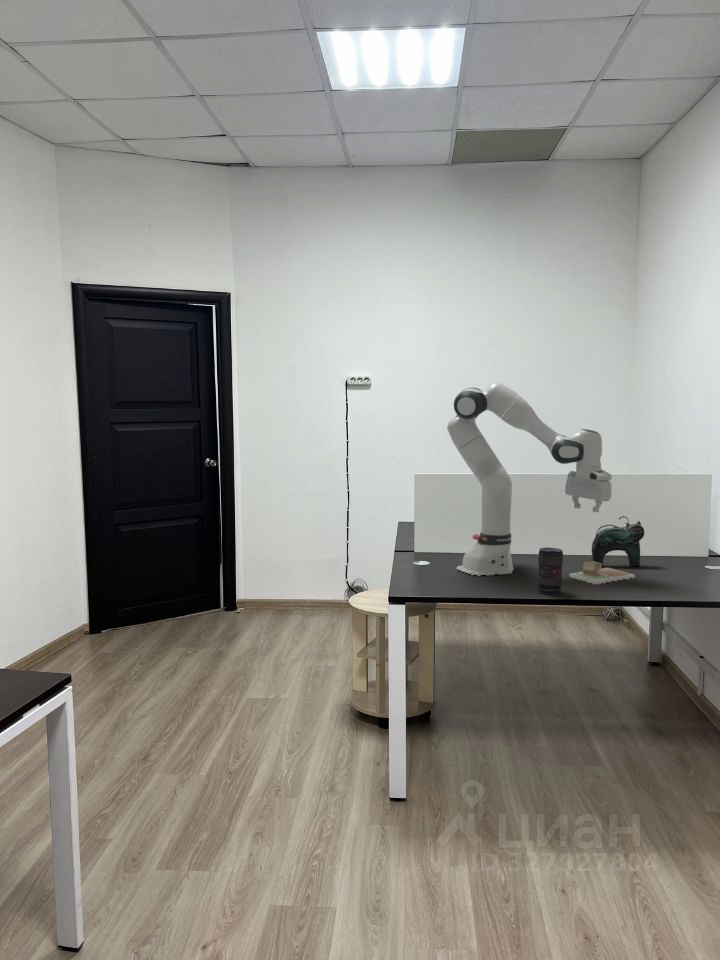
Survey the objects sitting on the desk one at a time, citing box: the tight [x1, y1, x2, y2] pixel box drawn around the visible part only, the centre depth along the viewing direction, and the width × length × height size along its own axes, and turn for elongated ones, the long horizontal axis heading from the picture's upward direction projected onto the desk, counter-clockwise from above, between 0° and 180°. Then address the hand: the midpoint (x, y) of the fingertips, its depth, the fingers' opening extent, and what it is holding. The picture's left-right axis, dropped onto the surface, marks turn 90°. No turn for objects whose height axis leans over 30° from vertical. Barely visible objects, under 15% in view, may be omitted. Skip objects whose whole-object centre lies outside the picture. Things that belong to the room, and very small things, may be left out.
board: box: [568, 567, 636, 586], centre depth 270 cm, size 20×13×2 cm, turn 118°
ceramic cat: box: [591, 515, 645, 567], centre depth 286 cm, size 20×6×20 cm, turn 89°
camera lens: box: [537, 547, 564, 595], centre depth 249 cm, size 8×8×15 cm
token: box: [582, 560, 603, 577], centre depth 267 cm, size 4×4×4 cm
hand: (586, 510), depth 271 cm, fingers open, 8 cm apart
